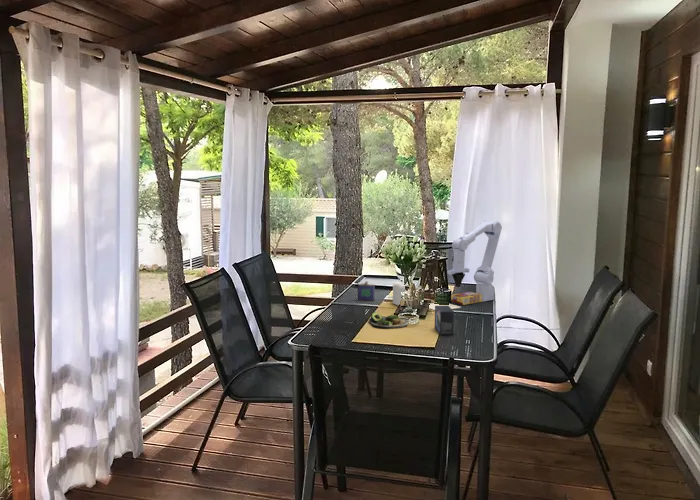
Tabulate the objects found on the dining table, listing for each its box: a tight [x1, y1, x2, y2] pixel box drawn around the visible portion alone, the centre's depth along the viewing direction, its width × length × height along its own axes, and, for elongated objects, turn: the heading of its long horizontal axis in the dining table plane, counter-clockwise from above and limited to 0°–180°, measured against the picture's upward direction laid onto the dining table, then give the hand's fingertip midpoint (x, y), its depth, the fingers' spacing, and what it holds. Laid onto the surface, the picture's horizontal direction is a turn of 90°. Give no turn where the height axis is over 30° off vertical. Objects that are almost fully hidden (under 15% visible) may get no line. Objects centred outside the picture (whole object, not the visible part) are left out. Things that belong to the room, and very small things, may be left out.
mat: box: [429, 302, 462, 311], centre depth 283 cm, size 16×14×1 cm
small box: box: [434, 305, 455, 336], centre depth 238 cm, size 11×6×10 cm, turn 5°
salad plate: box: [368, 312, 410, 330], centre depth 250 cm, size 19×18×5 cm
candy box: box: [450, 291, 483, 306], centre depth 294 cm, size 9×4×15 cm
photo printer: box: [392, 281, 407, 307], centre depth 284 cm, size 10×4×12 cm, turn 26°
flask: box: [357, 281, 376, 302], centre depth 294 cm, size 9×3×11 cm, turn 87°
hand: (457, 286), depth 288 cm, fingers closed
